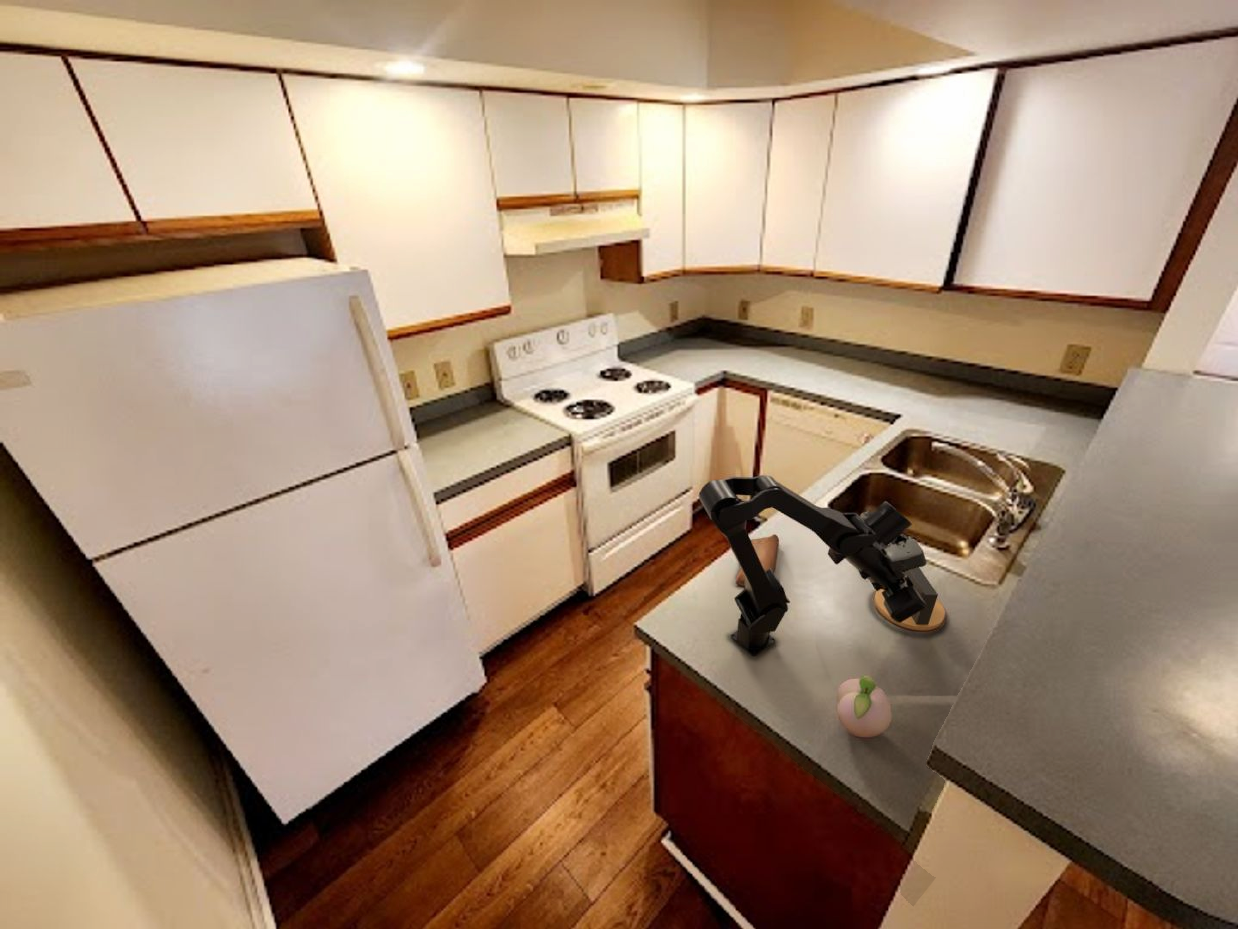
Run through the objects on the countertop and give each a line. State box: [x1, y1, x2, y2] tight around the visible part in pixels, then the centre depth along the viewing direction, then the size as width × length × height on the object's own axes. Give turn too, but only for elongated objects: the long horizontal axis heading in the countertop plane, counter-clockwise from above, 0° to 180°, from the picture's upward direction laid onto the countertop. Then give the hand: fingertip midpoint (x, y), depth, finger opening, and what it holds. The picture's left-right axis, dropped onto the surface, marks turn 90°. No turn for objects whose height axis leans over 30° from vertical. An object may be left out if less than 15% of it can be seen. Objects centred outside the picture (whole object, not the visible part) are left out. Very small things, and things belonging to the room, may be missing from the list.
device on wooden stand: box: [874, 567, 946, 631], centre depth 111 cm, size 13×13×9 cm
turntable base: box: [871, 590, 947, 633], centre depth 113 cm, size 14×14×1 cm
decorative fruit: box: [836, 675, 892, 738], centre depth 88 cm, size 9×8×10 cm
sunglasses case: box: [735, 533, 780, 588], centre depth 127 cm, size 18×7×7 cm
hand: (913, 600), depth 107 cm, fingers closed
